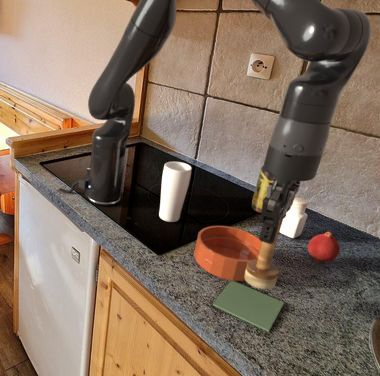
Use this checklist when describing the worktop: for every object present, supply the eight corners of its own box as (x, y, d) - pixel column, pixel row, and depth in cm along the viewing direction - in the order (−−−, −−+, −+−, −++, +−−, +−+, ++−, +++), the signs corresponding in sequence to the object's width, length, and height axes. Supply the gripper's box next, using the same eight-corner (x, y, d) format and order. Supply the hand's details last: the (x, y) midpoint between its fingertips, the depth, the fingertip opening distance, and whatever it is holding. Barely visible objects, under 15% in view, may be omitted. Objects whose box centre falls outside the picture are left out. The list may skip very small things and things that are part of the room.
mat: (212, 305, 77) (212, 303, 77) (231, 281, 84) (231, 279, 84) (268, 332, 71) (269, 330, 71) (283, 304, 78) (284, 302, 78)
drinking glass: (179, 213, 111) (188, 162, 105) (184, 225, 105) (194, 172, 98) (154, 211, 111) (162, 160, 105) (157, 223, 105) (166, 170, 99)
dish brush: (240, 281, 75) (254, 213, 69) (249, 269, 78) (264, 203, 73) (270, 293, 71) (288, 223, 66) (279, 279, 75) (296, 212, 69)
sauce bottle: (252, 202, 118) (270, 137, 109) (276, 209, 114) (296, 142, 106) (248, 211, 113) (266, 143, 104) (272, 218, 110) (293, 148, 101)
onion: (307, 251, 95) (318, 222, 92) (336, 262, 91) (348, 232, 88) (300, 261, 91) (311, 231, 88) (329, 273, 88) (342, 241, 84)
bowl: (182, 263, 89) (187, 242, 87) (208, 239, 99) (212, 219, 97) (250, 293, 81) (256, 270, 79) (270, 262, 91) (277, 241, 88)
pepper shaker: (286, 228, 105) (296, 195, 101) (301, 235, 102) (313, 201, 98) (277, 232, 103) (287, 199, 99) (293, 239, 100) (304, 205, 96)
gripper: (282, 131, 71) (257, 217, 78) (257, 150, 62) (232, 246, 69) (331, 141, 67) (301, 231, 74) (313, 163, 57) (280, 264, 64)
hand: (268, 238), depth 71 cm, fingers closed on dish brush
